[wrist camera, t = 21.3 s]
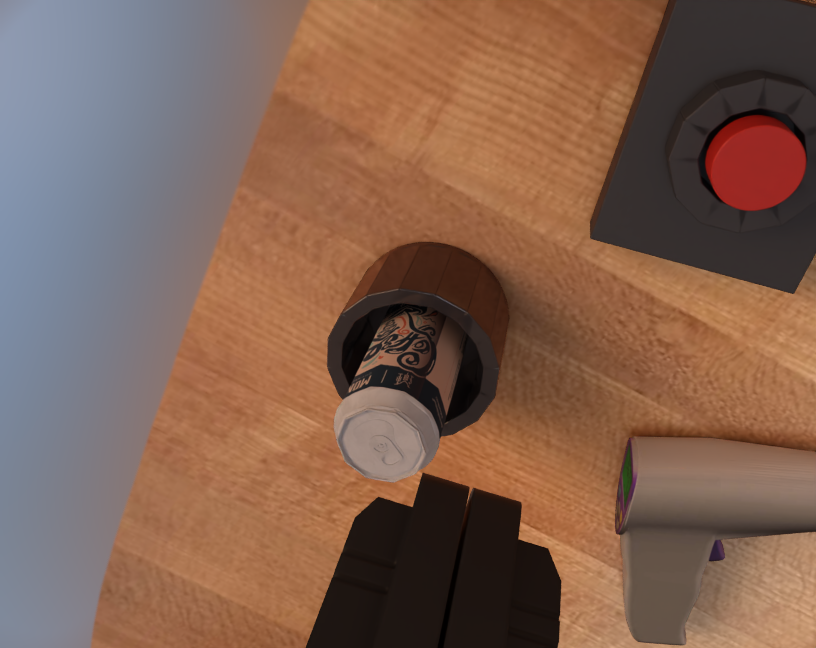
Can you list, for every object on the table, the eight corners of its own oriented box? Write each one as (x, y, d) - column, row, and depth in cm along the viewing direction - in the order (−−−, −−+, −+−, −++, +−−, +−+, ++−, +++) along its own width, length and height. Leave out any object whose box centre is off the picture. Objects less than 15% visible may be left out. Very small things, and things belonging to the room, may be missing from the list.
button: (725, 104, 31) (732, 114, 30) (812, 126, 31) (824, 138, 29) (691, 185, 33) (696, 198, 31) (773, 206, 33) (782, 221, 31)
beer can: (443, 263, 41) (394, 384, 30) (488, 331, 42) (456, 468, 32) (373, 300, 43) (305, 424, 32) (418, 363, 44) (367, 502, 34)
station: (679, -29, 32) (690, -22, 29) (914, 27, 31) (953, 42, 28) (589, 222, 38) (589, 253, 35) (783, 275, 38) (803, 312, 34)
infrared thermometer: (614, 593, 52) (613, 425, 44) (808, 606, 49) (843, 428, 41) (617, 653, 48) (616, 480, 40) (827, 670, 45) (869, 488, 37)
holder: (336, 260, 43) (302, 309, 37) (485, 225, 40) (470, 273, 35) (385, 387, 46) (360, 448, 41) (525, 364, 43) (517, 426, 38)
